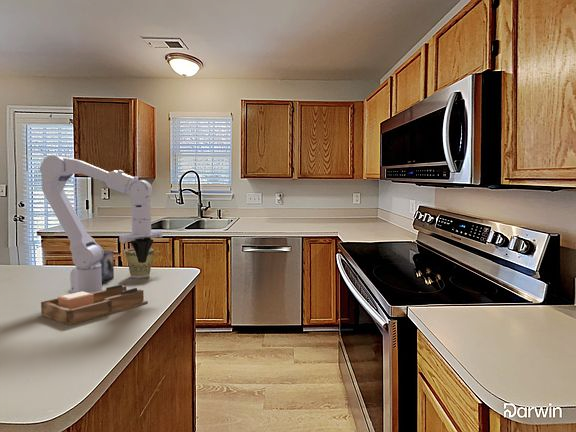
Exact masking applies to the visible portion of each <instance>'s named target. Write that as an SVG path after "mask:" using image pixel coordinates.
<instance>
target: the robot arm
mask: <svg viewBox="0 0 576 432" xmlns="http://www.w3.org/2000/svg"><path fill="white" fill-rule="evenodd" d="M39 171H40V173H41V191H42V192H43V194H44V197H45V199H46V200H47V202H48V203H49V206H50V207H51V209H52V211H53V213H54V214H55V216H56V218H57V221H58V222H59V224H60V226H61V228H62V229H63V231H64V233H65V236H67V237H68V240H69V242H70V244H69V251H70V253H71V260H72V262H73V264H74V267H73V268H72V269H71V271H70V274H69V275H70V277H69V279H70V281H69V282H70V291H69V292H68V293H67V295H68V294H73V293H77V292H82V291H83V292H87V293H92V292H97V291H101V290H103V286H102V285H103V283H102V275H101V263H100V260H101V259H102V258H103V255H104V251H103V250H104V249H103V247H102V246H101V245H99V244H98V243H97V242H96V241H95V238H94V237H92V236H91V235H89V234H88V232H87V230H86V228H85V227H84V225H83V223H82V221H81V220H80V218H79V215H78V213H77V212H76V210H75V208H74V206H73V205H72V203H71V201H70V200H69V197H68V196H67V194H66V192H65V190H64V189H65V186H66V183H67V182H68V180H69V179H70V178H71V177H72V176H74V175H75V174H77V175H79V174H82V175H84V176H87V177H90V178H93V179H96V180H98V181H102V182H105V184H106V187H108V188H109V189H111V190H114V191H116V192H120V193H122V194H125V195H127V196H129V197H130V198H131V204H130V205H131V232H130V233H124V234H121V235H119V243H126V242H130V245H131V246H132V248H134V250H135V252H136V255H137V258H138V262H140V263H145V262H146V260H147V255H148V252H149V249H150V248H151V247H152V246H153V244H154V239H155V238H163V231H162V230H152V204H151V195H152V194H153V186H152V184H151V183H150V182H149V181H147V180H146V179H140V180H139V177H138V176H131V175H130V174H129V175H128V174H126V173H125V171H124V170H123V169H122V170H121V169H118V170H117V169H115V170H112V171H107V170H105V169H102V168H100V167H97V166H95V165H93V164H90V163H88V162H85V161H84V160H80V159H77V158H71V157H69V156H57V155H53V154H51V155H48V156H45V158H43V161H42V162H41V165H40V166H39Z"/></svg>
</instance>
